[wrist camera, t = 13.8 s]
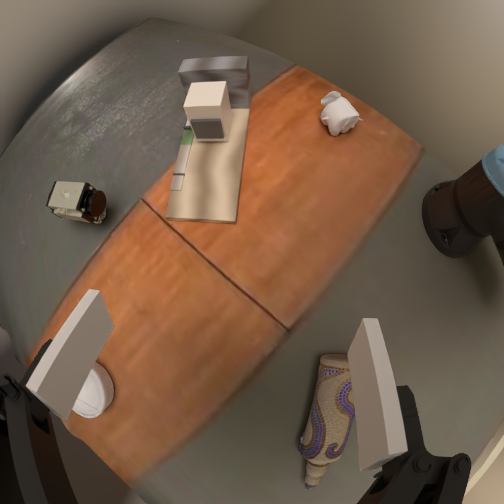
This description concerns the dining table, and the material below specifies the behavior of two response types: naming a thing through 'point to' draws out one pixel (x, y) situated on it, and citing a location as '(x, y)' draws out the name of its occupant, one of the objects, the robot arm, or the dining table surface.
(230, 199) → the board
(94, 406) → the ramekin
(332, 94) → the elephant figurine
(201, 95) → the block
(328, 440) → the decorative bottle
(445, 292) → the dining table surface
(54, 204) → the pneumatic valve
